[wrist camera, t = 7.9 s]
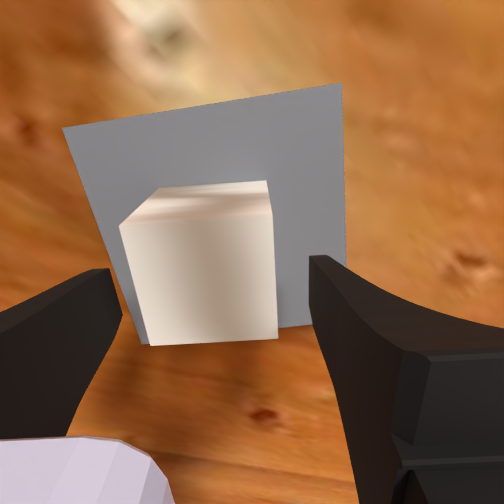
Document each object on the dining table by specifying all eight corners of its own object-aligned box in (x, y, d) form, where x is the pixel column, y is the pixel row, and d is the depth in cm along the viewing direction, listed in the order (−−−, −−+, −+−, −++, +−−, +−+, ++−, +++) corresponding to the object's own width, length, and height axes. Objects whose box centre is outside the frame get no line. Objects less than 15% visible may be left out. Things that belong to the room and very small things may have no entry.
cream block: (177, 281, 17) (150, 345, 13) (158, 187, 15) (118, 225, 10) (271, 274, 17) (278, 338, 12) (266, 180, 15) (272, 215, 10)
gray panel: (159, 305, 22) (141, 344, 19) (101, 122, 18) (62, 128, 14) (331, 283, 22) (347, 320, 18) (322, 87, 17) (342, 82, 13)
